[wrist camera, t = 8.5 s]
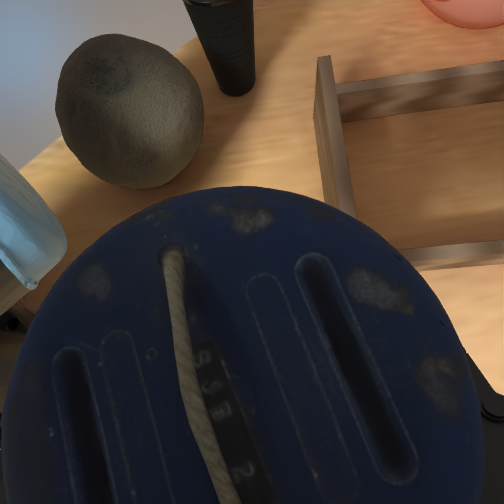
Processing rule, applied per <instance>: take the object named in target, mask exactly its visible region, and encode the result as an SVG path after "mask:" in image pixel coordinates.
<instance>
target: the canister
mask: <svg viewBox="0 0 504 504" xmlns="http://www.w3.org/2000/svg"><path fill="white" fill-rule="evenodd" d="M1 446H2V465H3V478H4V485H5V491H6V498H7V504H481V498H482V486H483V483H484V438H483V426H482V419H481V411H480V404H479V398H478V394H477V391H476V387H475V384H474V381H473V378H472V374H471V370H470V366H469V363H468V360H467V357H466V355H465V352H464V349H463V347H462V344H461V342H460V340H459V338H458V335H457V333H456V331H455V329H454V327H453V325H452V323H451V320H450V319H449V317H448V315H447V313H446V311H445V309H444V308H443V306H442V304H441V302H440V301H439V299H438V298H437V296H436V295H435V293H434V292H433V291H432V289H431V288H430V287H429V285H428V284H427V283H426V281H425V280H424V279H423V277H422V276H421V275H420V274H419V273H418V271H417V270H416V269H415V268H414V267H413V266H412V265H411V264H410V262H409V261H408V260H407V259H406V258H405V257H404V256H403V255H402V254H401V253H400V252H399V251H397V250H396V249H395V248H394V247H393V246H392V245H390V244H389V243H388V242H387V241H386V240H385V239H384V238H383V237H381V236H380V235H379V234H378V233H376V232H375V231H374V230H372V229H371V228H370V227H368V226H367V225H365V224H363V223H362V222H360V221H358V220H357V219H355V218H353V217H352V216H350V215H348V214H346V213H344V212H342V211H341V210H339V209H337V208H335V207H333V206H330V205H328V204H326V203H324V202H321V201H318V200H316V199H313V198H310V197H307V196H304V195H300V194H296V193H292V192H288V191H282V190H276V189H271V188H263V187H257V186H233V187H217V188H211V189H205V190H199V191H194V192H190V193H187V194H183V195H180V196H176V197H173V198H170V199H167V200H164V201H162V202H159V203H156V204H153V205H151V206H150V207H148V208H146V209H144V210H142V211H140V212H138V213H136V214H134V215H133V216H131V217H129V218H128V219H126V220H124V221H123V222H121V223H120V224H118V225H116V226H115V227H113V228H112V229H110V230H109V231H108V232H106V233H105V234H104V235H102V236H101V237H100V238H99V239H98V240H96V241H95V242H94V243H93V244H92V245H91V246H90V247H88V248H87V249H86V250H85V251H84V252H83V253H82V254H81V255H80V256H79V257H78V258H77V259H76V260H75V261H74V262H73V263H72V264H71V265H70V266H69V267H68V268H67V269H66V270H65V272H64V273H63V274H62V275H61V277H60V278H59V279H58V280H57V281H56V283H55V284H54V285H53V287H52V288H51V290H50V292H49V293H48V295H47V297H46V298H45V300H44V301H43V303H42V304H41V306H40V308H39V310H38V311H37V313H36V315H35V317H34V318H33V320H32V322H31V325H30V327H29V329H28V331H27V334H26V336H25V338H24V341H23V343H22V345H21V348H20V350H19V353H18V356H17V359H16V361H15V365H14V368H13V371H12V374H11V378H10V382H9V386H8V389H7V393H6V397H5V401H4V406H3V411H2V416H1Z"/></svg>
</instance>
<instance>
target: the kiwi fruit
mask: <svg viewBox="0 0 504 504" xmlns="http://www.w3.org/2000/svg"><path fill="white" fill-rule="evenodd" d="M55 111H56V116H57V119H58V122H59V125H60V128H61V132H62V135H63V138H64V141H65V143H66V144H67V146H68V147H69V149H70V150H71V151H72V152H73V153H74V154H75V156H76V157H77V158H78V159H79V161H80V162H81V164H82V165H83V166H84V167H85V168H86V169H87V170H89V171H90V172H91V173H93V174H94V175H96V176H97V177H99V178H100V179H102V180H104V181H106V182H109V183H111V184H114V185H117V186H120V187H125V188H132V189H148V188H155V187H159V186H161V185H164V184H166V183H167V182H169V181H170V180H171V179H173V178H174V177H175V176H176V175H177V174H179V173H180V172H181V171H182V170H183V169H184V168H185V167H186V166H187V165H188V164H189V162H190V161H191V159H192V158H193V157H194V155H195V154H196V152H197V149H198V147H199V145H200V142H201V139H202V134H203V124H204V112H203V101H202V96H201V93H200V90H199V87H198V84H197V82H196V80H195V79H194V77H193V75H192V74H191V72H190V71H189V70H188V69H187V68H186V67H185V66H184V65H183V64H182V63H181V62H180V61H179V60H178V59H177V58H175V57H174V56H173V55H172V54H170V53H169V52H168V51H167V50H165V49H164V48H162V47H160V46H158V45H155V44H152V43H149V42H147V41H144V40H140V39H137V38H133V37H129V36H125V35H121V34H105V35H100V36H97V37H94V38H91V39H89V40H87V41H85V42H84V43H82V44H81V46H79V47H78V48H77V49H75V50H74V52H73V53H72V54H71V55H70V56H69V58H68V59H67V60H66V62H65V63H64V65H63V67H62V70H61V74H60V78H59V81H58V89H57V97H56V103H55Z"/></svg>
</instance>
